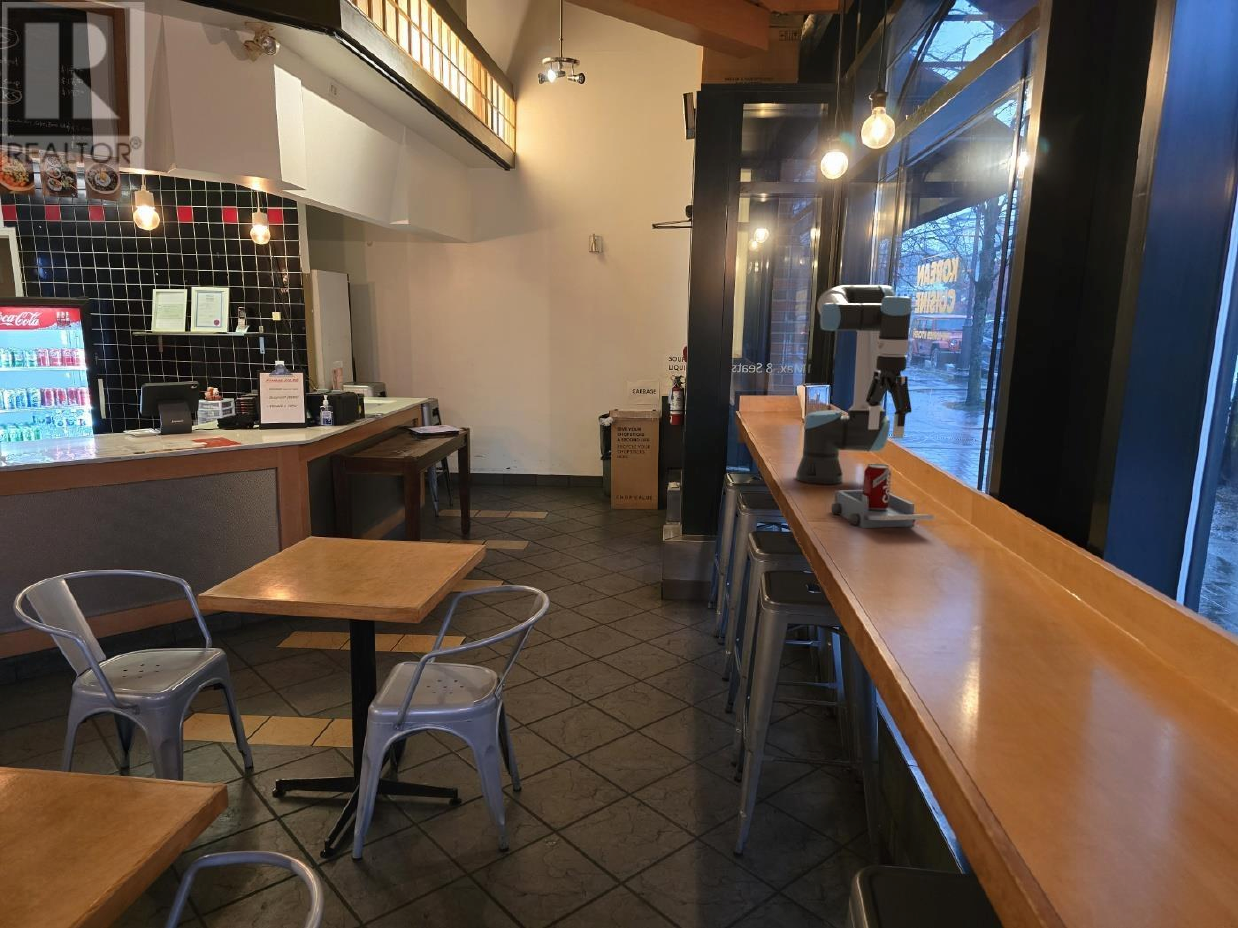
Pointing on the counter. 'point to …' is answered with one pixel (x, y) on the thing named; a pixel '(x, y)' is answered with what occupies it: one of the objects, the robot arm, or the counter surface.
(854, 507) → the box
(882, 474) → the soda can
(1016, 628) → the counter surface
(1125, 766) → the counter surface
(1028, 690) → the counter surface
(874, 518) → the panel
